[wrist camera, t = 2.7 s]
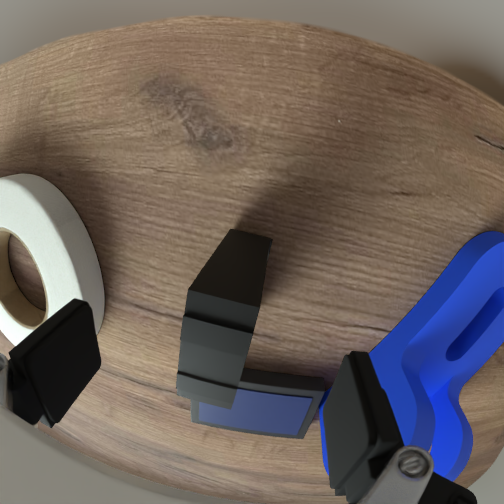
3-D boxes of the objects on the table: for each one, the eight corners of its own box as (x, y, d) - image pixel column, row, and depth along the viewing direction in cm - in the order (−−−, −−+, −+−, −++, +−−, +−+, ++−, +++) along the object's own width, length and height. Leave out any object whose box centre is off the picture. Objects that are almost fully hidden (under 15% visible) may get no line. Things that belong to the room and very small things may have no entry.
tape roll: (99, 170, 15) (70, 175, 13) (119, 369, 20) (103, 391, 18) (-18, 176, 16) (-41, 181, 14) (6, 322, 21) (-10, 335, 19)
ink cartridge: (253, 314, 17) (232, 417, 10) (216, 304, 17) (174, 401, 10) (273, 236, 16) (264, 313, 8) (232, 226, 16) (185, 292, 8)
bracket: (384, 427, 20) (403, 509, 11) (317, 397, 19) (325, 503, 11) (529, 274, 14) (598, 328, 6) (489, 205, 13) (590, 249, 5)
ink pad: (323, 377, 18) (325, 392, 17) (302, 426, 20) (303, 440, 19) (195, 358, 19) (189, 372, 17) (194, 410, 21) (190, 423, 19)
